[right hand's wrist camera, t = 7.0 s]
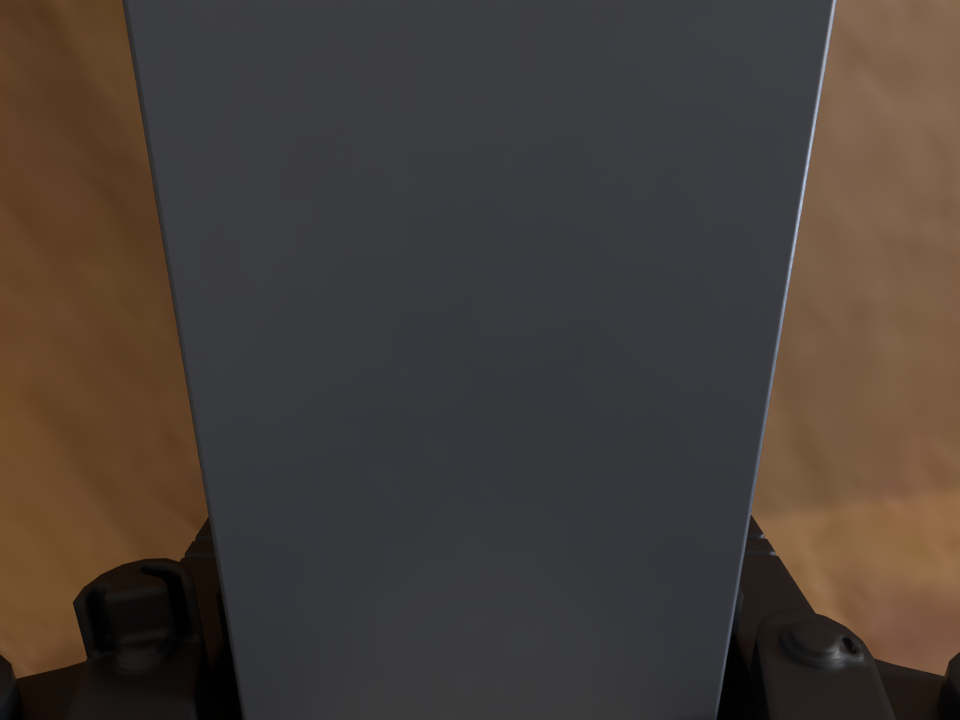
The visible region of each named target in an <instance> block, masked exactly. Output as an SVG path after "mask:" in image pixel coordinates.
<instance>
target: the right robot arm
mask: <svg viewBox="0 0 960 720" xmlns="http://www.w3.org/2000/svg"><path fill="white" fill-rule="evenodd" d="M73 605H74V609H75V613H76V616H77V620H78V624H79V628H80V631H81V635H82V639H83V643H84V646H85V650H86V654H87V660H86V661H85V662H82V663H78V664H75V665H72V666H69V667H65V668H61V669H57V670H52V671H48V672H44V673H40V674H35V675H31V676H27V677H23V678H18V679H16V678H15V675H14V672H13V669H12V665H11V664H10V663H9V662H8V661H7V660H6V659H5V658H4V657H2V656H1V655H0V720H243V717H242V711H241V705H240V699H239V693H238V687H237V681H236V675H235V669H234V663H233V657H232V651H231V645H230V639H229V634H228V628H227V622H226V616H225V610H224V604H223V598H222V592H221V586H220V580H219V574H218V568H217V562H216V556H215V550H214V544H213V538H212V532H211V526H210V520H209V517H208V519H207V520H206V522H205V523H204V525H203V526H202V528H201V530H200V531H199V533H198V534H197V536H196V539H195V541H193V542H192V543H191V545H190V547H189V548H188V550H187V551H186V553H185V557H184V558H182V559H181V560H180V562H178V561H174V560H171V559H167V558H160V559H143V560H139V561H135V562H131V563H127V564H123V565H121V566H119V567H116V568H114V569H112V570H110V571H108V572H106V573H103V574H101V575H100V576H99V577H97V578H96V579H95V580H93V581H92V582H91V583H89V584H88V585H87V586H85V587H84V588H83V589H82V591H81V592H80V593H79V595H78V596H77V597H76V599H75V600H74V602H73ZM716 720H960V652H959V653H958V654H957V655H956V656H955V657H953V658H952V659H951V660H950V661H949V664H948V667H947V670H946V673H945V676H941V675H937V674H932V673H928V672H924V671H920V670H915V669H911V668H907V667H902V666H898V665H894V664H891V663H887V662H884V661H881V660H877V659H874V658H873V656H872V655H871V653H870V652H869V650H868V649H867V647H866V645H865V644H864V642H863V641H862V640H861V639H860V638H859V637H857V636H856V635H855V634H854V633H853V632H852V631H850V630H849V629H848V628H847V627H845V626H843V625H841V624H840V623H838V622H836V621H834V620H832V619H830V618H828V617H826V616H823V615H819V614H816V613H815V612H814V610H813V609H812V607H811V606H810V604H809V603H808V601H807V600H806V598H805V597H804V595H803V594H802V592H801V590H800V589H799V587H798V586H797V584H796V583H795V581H794V580H793V578H792V577H791V575H790V574H789V572H788V570H787V569H786V567H785V566H784V564H783V563H782V561H781V560H780V558H779V557H778V556H776V555H775V550H774V549H773V547H772V546H771V544H770V543H769V541H768V540H767V539H765V537H764V534H763V532H762V530H761V529H760V527H759V526H758V524H757V523H756V521H755V520H754V518H753V517H752V515H751V516H750V522H749V527H748V533H747V539H746V545H745V551H744V557H743V563H742V569H741V575H740V581H739V587H738V593H737V599H736V605H735V611H734V617H733V623H732V629H731V635H730V641H729V647H728V653H727V659H726V665H725V671H724V677H723V683H722V689H721V695H720V701H719V707H718V713H717V719H716Z"/></svg>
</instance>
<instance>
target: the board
mask: <svg viewBox="0 0 960 720" xmlns="http://www.w3.org/2000/svg"><path fill="white" fill-rule="evenodd" d="M122 1H123V7H124V13H125V19H126V25H127V31H128V37H129V43H130V49H131V55H132V61H133V67H134V72H135V78H136V84H137V90H138V96H139V102H140V108H141V114H142V120H143V126H144V132H145V138H146V144H147V150H148V156H149V162H150V168H151V174H152V180H153V186H154V192H155V198H156V204H157V210H158V216H159V222H160V228H161V234H162V240H163V246H164V252H165V258H166V263H167V269H168V275H169V281H170V287H171V293H172V299H173V305H174V311H175V317H176V323H177V329H178V335H179V341H180V347H181V353H182V359H183V365H184V371H185V377H186V383H187V389H188V395H189V401H190V407H191V413H192V419H193V425H194V431H195V437H196V443H197V448H198V454H199V460H200V466H201V472H202V478H203V484H204V490H205V496H206V502H207V508H208V514H209V520H210V526H211V532H212V538H213V544H214V550H215V556H216V562H217V568H218V574H219V580H220V586H221V592H222V598H223V604H224V610H225V616H226V622H227V628H228V634H229V639H230V645H231V651H232V657H233V663H234V669H235V675H236V681H237V687H238V693H239V699H240V705H241V711H242V717H243V720H716V719H717V713H718V707H719V701H720V695H721V689H722V683H723V677H724V671H725V665H726V659H727V653H728V647H729V641H730V635H731V629H732V623H733V617H734V611H735V605H736V599H737V593H738V587H739V581H740V575H741V569H742V563H743V557H744V551H745V545H746V539H747V533H748V527H749V522H750V516H751V510H752V504H753V498H754V492H755V486H756V480H757V474H758V468H759V462H760V456H761V450H762V444H763V438H764V432H765V426H766V420H767V414H768V408H769V402H770V396H771V390H772V384H773V378H774V372H775V366H776V360H777V354H778V348H779V342H780V336H781V330H782V324H783V318H784V312H785V306H786V300H787V294H788V288H789V282H790V276H791V270H792V264H793V258H794V252H795V246H796V240H797V234H798V228H799V222H800V216H801V210H802V204H803V198H804V192H805V186H806V180H807V174H808V168H809V162H810V156H811V150H812V144H813V138H814V132H815V126H816V120H817V114H818V108H819V102H820V96H821V91H822V85H823V79H824V73H825V67H826V61H827V55H828V49H829V43H830V37H831V31H832V25H833V19H834V13H835V7H836V1H837V0H122Z"/></svg>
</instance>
